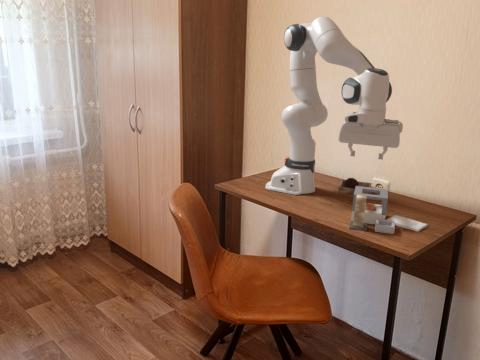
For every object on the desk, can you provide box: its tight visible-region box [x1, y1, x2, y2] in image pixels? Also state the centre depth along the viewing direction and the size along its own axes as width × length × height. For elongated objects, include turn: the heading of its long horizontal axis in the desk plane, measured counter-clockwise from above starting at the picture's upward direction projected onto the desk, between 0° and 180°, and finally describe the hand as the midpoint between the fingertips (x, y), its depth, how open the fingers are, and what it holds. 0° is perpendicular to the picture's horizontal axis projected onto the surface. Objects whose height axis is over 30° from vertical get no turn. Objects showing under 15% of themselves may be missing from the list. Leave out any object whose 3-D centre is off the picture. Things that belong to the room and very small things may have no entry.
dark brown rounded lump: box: [343, 177, 358, 189], centre depth 211 cm, size 8×8×7 cm
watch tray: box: [337, 179, 372, 196], centre depth 213 cm, size 14×14×2 cm
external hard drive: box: [386, 214, 428, 233], centre depth 173 cm, size 2×8×12 cm
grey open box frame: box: [350, 186, 389, 225], centre depth 176 cm, size 12×12×10 cm
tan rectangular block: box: [352, 195, 368, 228], centre depth 167 cm, size 4×4×11 cm
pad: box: [349, 221, 368, 232], centre depth 168 cm, size 6×6×1 cm
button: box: [365, 202, 375, 211], centre depth 177 cm, size 4×4×4 cm
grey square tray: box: [374, 219, 396, 235], centre depth 167 cm, size 6×6×2 cm
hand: (366, 157), depth 162 cm, fingers open, 8 cm apart
